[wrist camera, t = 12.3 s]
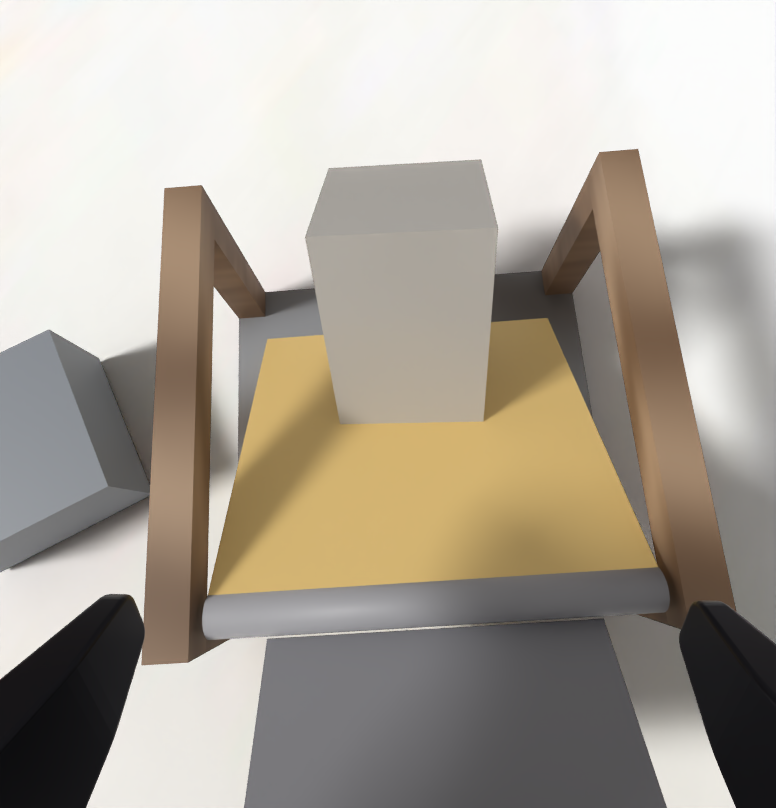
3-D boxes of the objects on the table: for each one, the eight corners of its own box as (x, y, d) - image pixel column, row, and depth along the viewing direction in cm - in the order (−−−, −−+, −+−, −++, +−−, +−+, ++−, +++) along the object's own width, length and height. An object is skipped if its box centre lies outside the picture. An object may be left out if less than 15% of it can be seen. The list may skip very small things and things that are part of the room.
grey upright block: (483, 421, 18) (498, 227, 13) (340, 424, 19) (305, 236, 14) (472, 335, 22) (481, 159, 17) (352, 339, 22) (328, 168, 18)
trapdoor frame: (615, 594, 21) (740, 629, 13) (241, 617, 21) (141, 665, 13) (564, 275, 24) (638, 148, 17) (243, 300, 25) (164, 188, 17)
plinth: (153, 494, 23) (108, 486, 19) (0, 572, 22) (-75, 578, 19) (99, 358, 24) (48, 329, 21) (-45, 428, 24) (-120, 410, 21)
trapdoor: (732, 942, 12) (824, 933, 9) (195, 966, 12) (119, 965, 9) (536, 388, 25) (547, 315, 22) (286, 406, 25) (266, 337, 23)
